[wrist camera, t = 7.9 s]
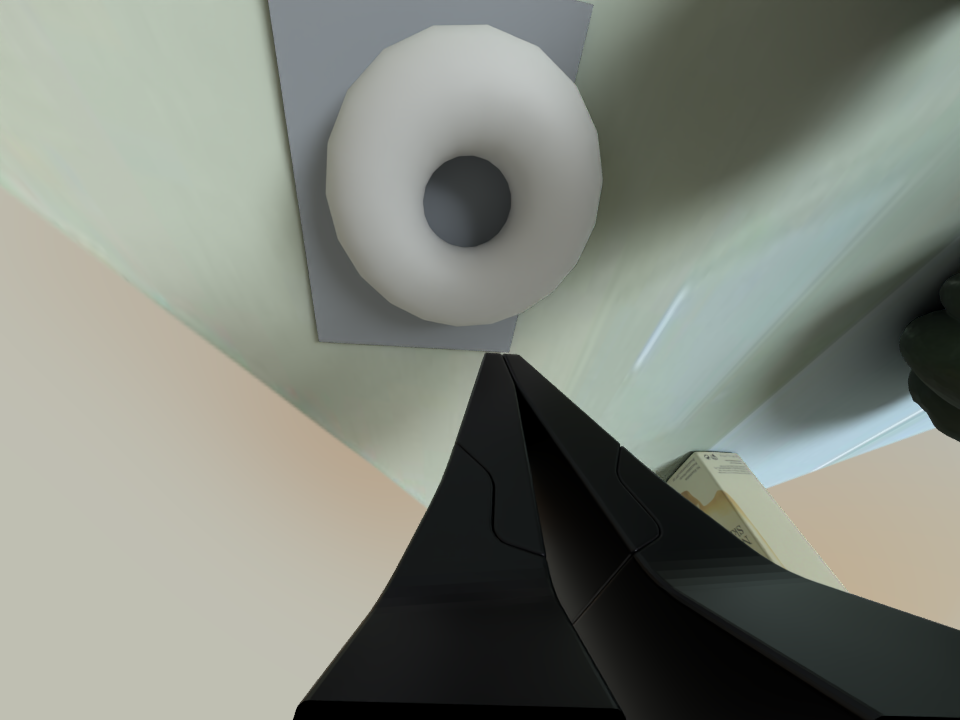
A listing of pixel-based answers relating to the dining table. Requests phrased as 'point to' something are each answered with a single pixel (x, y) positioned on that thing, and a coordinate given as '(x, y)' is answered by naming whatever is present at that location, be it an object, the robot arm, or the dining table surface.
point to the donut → (463, 132)
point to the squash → (937, 360)
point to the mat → (452, 187)
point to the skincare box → (749, 512)
